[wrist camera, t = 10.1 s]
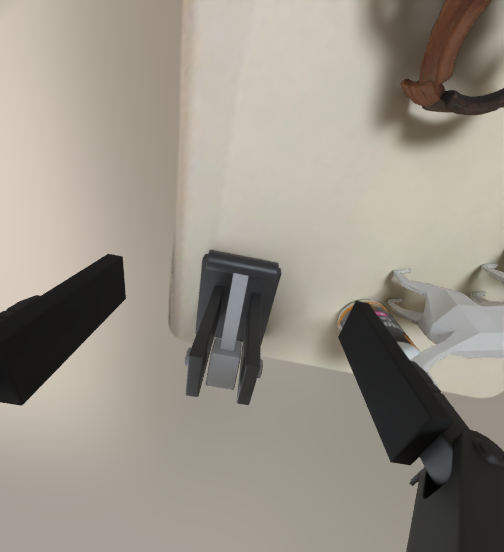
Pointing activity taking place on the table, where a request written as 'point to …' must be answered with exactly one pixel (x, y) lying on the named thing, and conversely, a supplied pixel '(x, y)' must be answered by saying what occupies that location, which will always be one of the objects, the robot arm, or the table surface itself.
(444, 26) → the pottery mug
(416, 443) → the robot arm
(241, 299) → the lever handle
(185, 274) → the table surface
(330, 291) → the table surface
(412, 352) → the pill bottle
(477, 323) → the cat figurine
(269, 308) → the hinged clamp bracket
